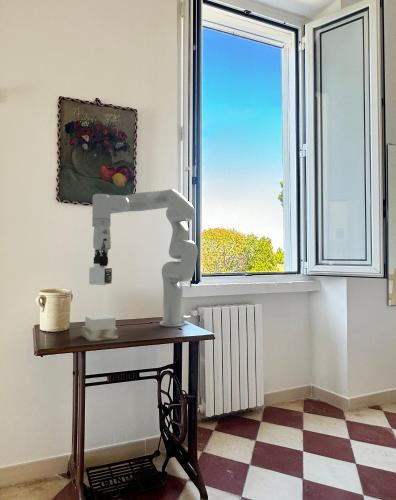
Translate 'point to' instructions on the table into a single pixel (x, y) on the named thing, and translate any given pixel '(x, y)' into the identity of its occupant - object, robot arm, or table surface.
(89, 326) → the tower top block
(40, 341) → the table surface
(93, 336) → the tower base block
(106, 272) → the medicine bottle
